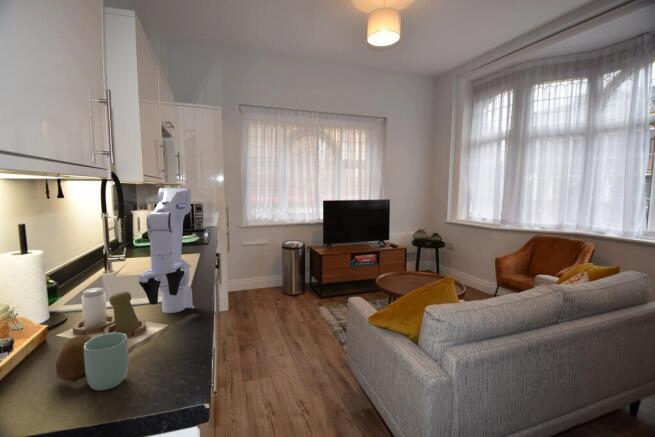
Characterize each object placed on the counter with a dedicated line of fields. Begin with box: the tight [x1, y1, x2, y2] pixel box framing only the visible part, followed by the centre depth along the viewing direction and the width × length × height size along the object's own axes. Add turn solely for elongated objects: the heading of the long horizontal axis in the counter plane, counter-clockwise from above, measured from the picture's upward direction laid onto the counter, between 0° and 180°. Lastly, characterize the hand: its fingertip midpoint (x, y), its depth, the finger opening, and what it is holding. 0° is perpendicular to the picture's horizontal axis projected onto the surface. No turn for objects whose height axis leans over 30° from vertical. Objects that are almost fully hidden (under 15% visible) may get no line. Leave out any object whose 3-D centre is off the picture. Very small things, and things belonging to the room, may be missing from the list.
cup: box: [83, 333, 130, 392], centre depth 67 cm, size 8×8×10 cm
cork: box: [108, 291, 141, 333], centre depth 88 cm, size 6×6×11 cm
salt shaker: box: [81, 287, 108, 329], centre depth 90 cm, size 6×6×11 cm
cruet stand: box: [55, 314, 170, 354], centre depth 89 cm, size 14×25×3 cm, turn 76°
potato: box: [55, 336, 93, 382], centre depth 71 cm, size 8×12×9 cm
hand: (163, 299), depth 90 cm, fingers open, 7 cm apart
